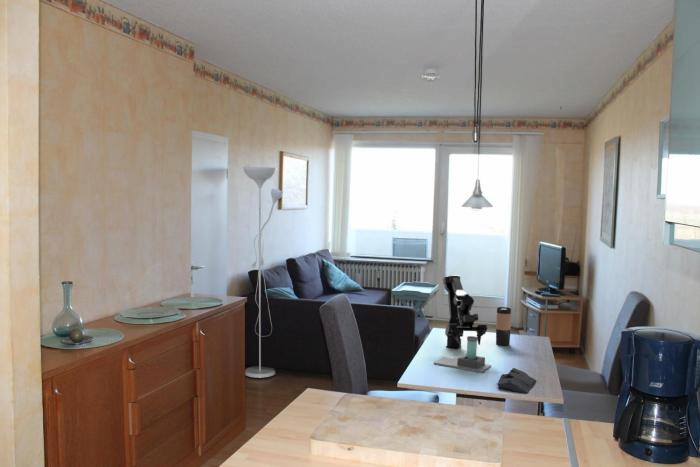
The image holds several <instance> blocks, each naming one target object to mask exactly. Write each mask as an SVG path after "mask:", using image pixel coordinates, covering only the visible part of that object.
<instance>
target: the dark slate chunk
mask: <svg viewBox="0 0 700 467" xmlns="http://www.w3.org/2000/svg"><path fill="white" fill-rule="evenodd" d="M497 381H498V382H497V383H496V385H497V387H498V388H499V389H504V390H508V391H513V392H515V393H520V394H529V393H530V392H531V390H532V389H533V387H534V386H535V384H537V380H536V378H533V377H531V376H530V375H528V373H526V372H525V371H523V370H520V369H517V368H516V367H512V369H510V370H509V372H508V373H506V374H505V373H503V374H501V375H500V377H499V379H498V380H497Z"/></svg>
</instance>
